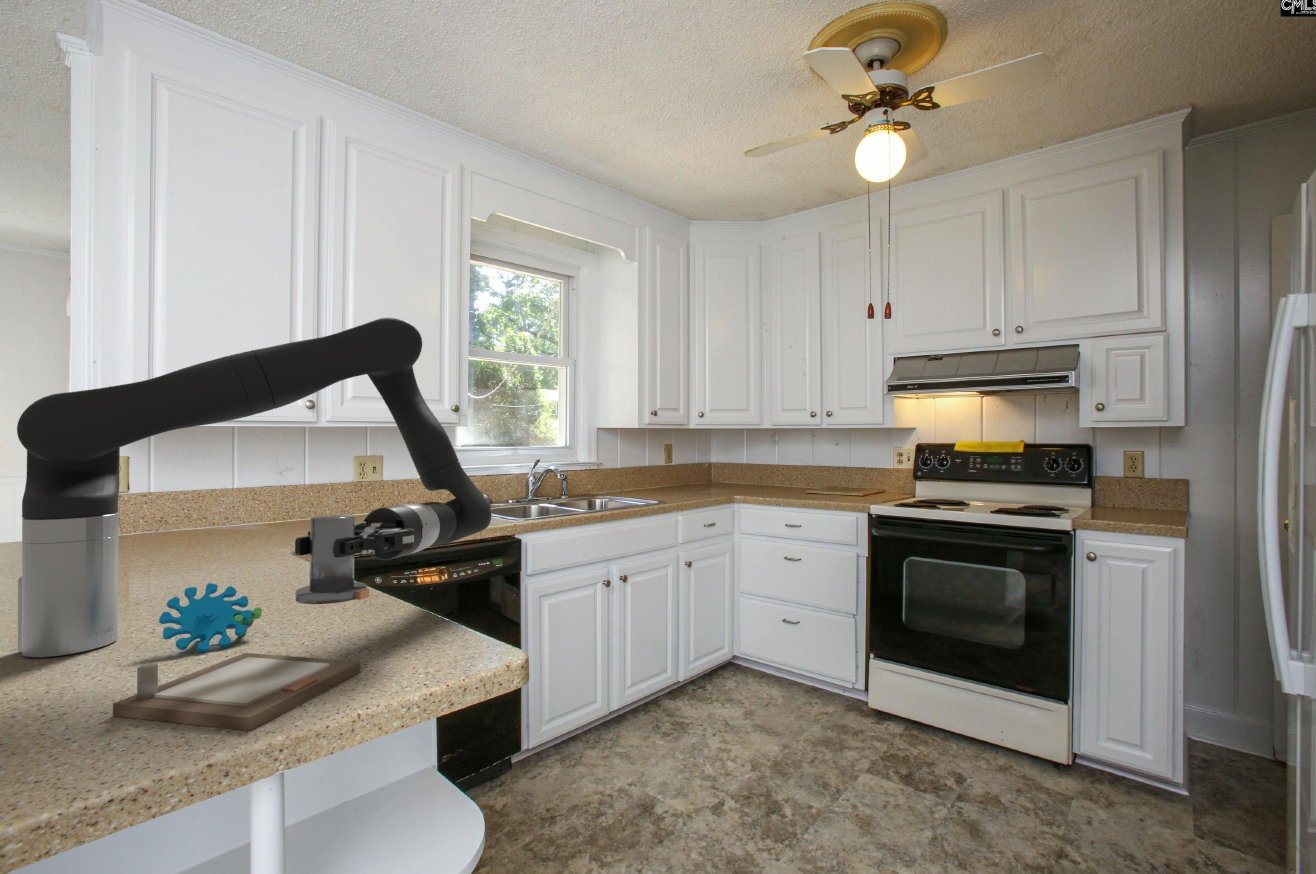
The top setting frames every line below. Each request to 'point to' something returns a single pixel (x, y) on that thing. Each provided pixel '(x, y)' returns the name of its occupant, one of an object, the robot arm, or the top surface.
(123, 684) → the top surface
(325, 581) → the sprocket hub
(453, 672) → the top surface
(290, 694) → the mount board
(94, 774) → the top surface
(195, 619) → the gear
